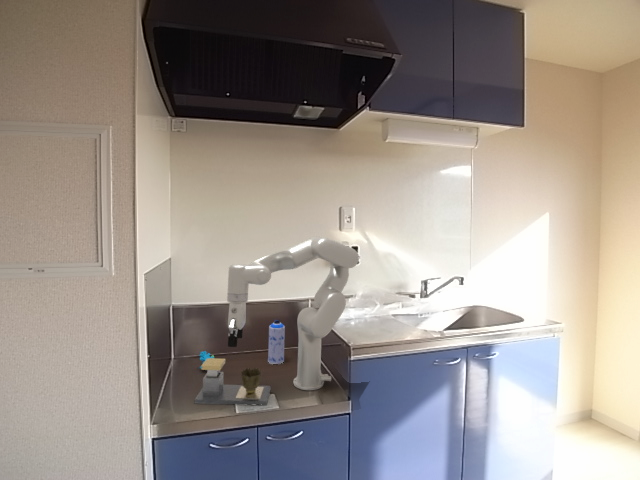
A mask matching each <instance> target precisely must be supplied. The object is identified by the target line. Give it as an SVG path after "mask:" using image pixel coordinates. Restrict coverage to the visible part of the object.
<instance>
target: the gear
mask: <svg viewBox="0 0 640 480" xmlns="http://www.w3.org/2000/svg"><path fill="white" fill-rule="evenodd" d="M198 356H199V360H200V361H201V362H202V364H203V363H204V362H205V360H206V359H207V358H215V356H214V354H212V355H211V353H210V352H207V351H206V350H204V351H200V354H199V355H198ZM202 364H201V365H200V366H199V369H200V370H201V366H202Z"/></svg>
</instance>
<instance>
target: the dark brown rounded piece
mask: <svg viewBox="0 0 640 480" xmlns="http://www.w3.org/2000/svg"><path fill="white" fill-rule="evenodd" d="M240 373H241V383H242V384H241V385H243V387H244V388H245V389H246V392H247V393H249V394H252V393H254V392H255V391H256V388H257V387H258V386H260V382H261V377H262V376H261V375H262V371H261V370H260V369H259V368H256V367H254V368H253V369H252V368H250V367H249V368H248V367H247V368H245V369H243V370H242V371H241V372H240Z"/></svg>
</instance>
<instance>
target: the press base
mask: <svg viewBox="0 0 640 480" xmlns="http://www.w3.org/2000/svg"><path fill="white" fill-rule="evenodd" d="M270 393H271V385H259V386H258V387H257V388H256V391H255V392H254V393H252V394H249V393H247V392H246V389H245V388H244V387H243V384H224V371H220V375H219V377H218V378H208V377H207V372H206V373H205V375H204V376H203V378H202V388H201V389H200V391H199V392H198V394H197V395H196V396H195V398H194V400H193V401H194V404H200V405H204V404H205V405H232V404H260V405H259V406H267V405H268V404H267V403H268V401H267V400H269V397H270ZM261 404H262V405H261Z"/></svg>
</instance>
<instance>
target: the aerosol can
mask: <svg viewBox="0 0 640 480" xmlns="http://www.w3.org/2000/svg"><path fill="white" fill-rule="evenodd" d="M280 320H281V319H278V318H277V319H274V322H272V323H271V324H270V325H269V326H268V354H267V355H268V357H267V363H268V362H269V363H268V364H270V365H273V364H278V365H281V363H282V364H284V363H285V339H286V338H285V337H286V335H285V333H286V331H285V329H286V328H285V327H286V326H285V325H284V324H283V323H282V322H280ZM283 362H284V363H283Z"/></svg>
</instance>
